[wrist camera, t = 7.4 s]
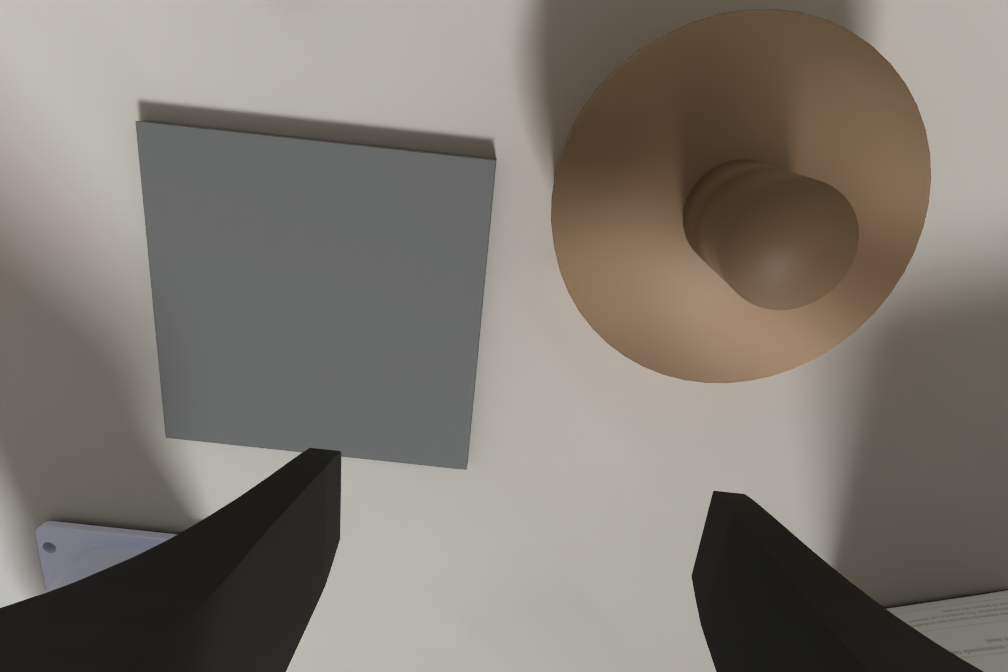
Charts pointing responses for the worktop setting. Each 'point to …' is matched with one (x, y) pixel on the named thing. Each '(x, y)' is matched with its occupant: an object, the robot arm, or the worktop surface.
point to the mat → (316, 291)
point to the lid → (740, 195)
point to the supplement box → (965, 627)
